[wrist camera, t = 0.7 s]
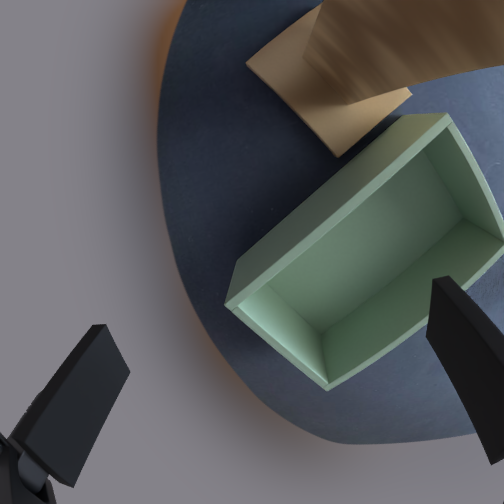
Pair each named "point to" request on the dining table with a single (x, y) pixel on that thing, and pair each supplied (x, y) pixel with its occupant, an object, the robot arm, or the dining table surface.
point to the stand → (374, 58)
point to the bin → (370, 251)
